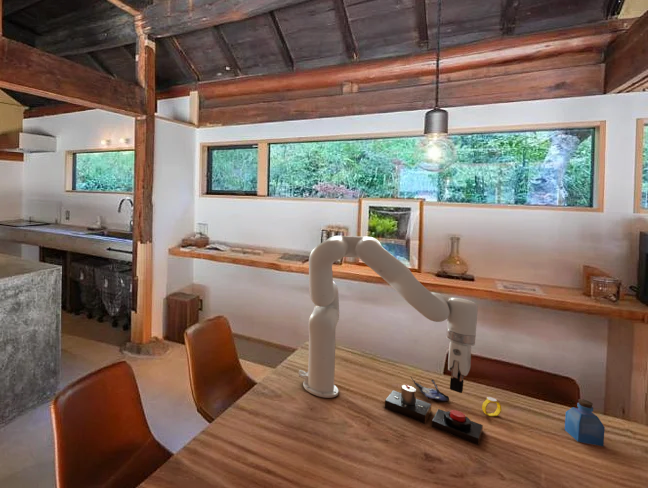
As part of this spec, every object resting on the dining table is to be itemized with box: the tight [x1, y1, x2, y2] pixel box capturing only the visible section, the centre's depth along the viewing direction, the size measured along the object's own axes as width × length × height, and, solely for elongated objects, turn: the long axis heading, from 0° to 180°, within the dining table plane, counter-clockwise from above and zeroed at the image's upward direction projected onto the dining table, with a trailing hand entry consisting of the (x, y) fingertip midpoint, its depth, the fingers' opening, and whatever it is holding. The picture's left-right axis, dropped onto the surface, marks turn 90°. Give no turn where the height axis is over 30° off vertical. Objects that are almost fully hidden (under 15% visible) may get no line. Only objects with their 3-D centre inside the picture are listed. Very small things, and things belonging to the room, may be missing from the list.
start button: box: [449, 409, 466, 422], centre depth 130 cm, size 4×4×2 cm
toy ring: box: [481, 396, 502, 417], centre depth 138 cm, size 6×3×6 cm, turn 93°
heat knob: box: [400, 383, 417, 405], centre depth 140 cm, size 4×4×5 cm
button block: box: [431, 408, 484, 446], centre depth 130 cm, size 12×10×4 cm
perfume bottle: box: [564, 398, 606, 447], centre depth 126 cm, size 6×6×12 cm
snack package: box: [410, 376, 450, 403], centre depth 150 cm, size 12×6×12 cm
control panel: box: [384, 389, 432, 425], centre depth 140 cm, size 12×10×3 cm
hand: (456, 390), depth 130 cm, fingers closed
